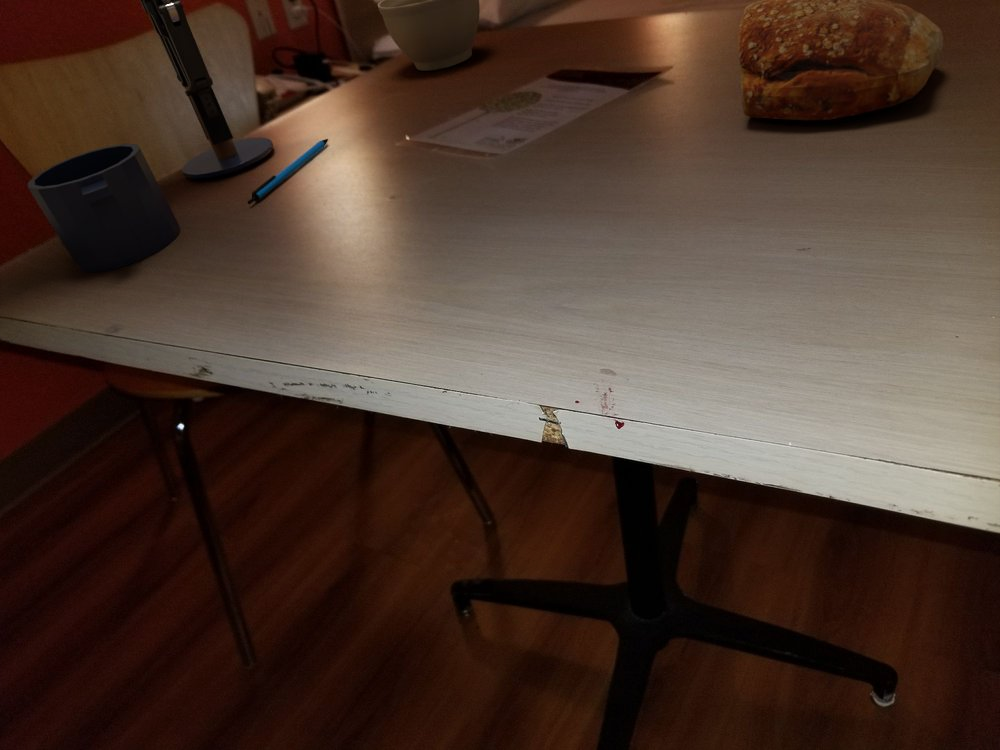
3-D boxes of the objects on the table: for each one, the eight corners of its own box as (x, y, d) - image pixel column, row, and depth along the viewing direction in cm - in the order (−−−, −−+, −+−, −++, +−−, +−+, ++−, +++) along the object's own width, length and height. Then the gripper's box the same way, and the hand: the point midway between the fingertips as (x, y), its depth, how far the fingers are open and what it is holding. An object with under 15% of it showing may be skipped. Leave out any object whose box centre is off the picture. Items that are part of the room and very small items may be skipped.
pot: (83, 292, 73) (29, 205, 68) (72, 243, 86) (26, 167, 80) (193, 248, 77) (150, 162, 71) (167, 207, 90) (128, 132, 84)
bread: (765, 66, 86) (766, -27, 80) (943, 56, 77) (959, -51, 71) (716, 133, 73) (713, 27, 67) (924, 129, 64) (942, 7, 58)
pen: (247, 206, 84) (243, 197, 83) (326, 142, 97) (323, 134, 97) (253, 206, 83) (249, 197, 83) (332, 142, 97) (329, 133, 96)
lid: (195, 191, 93) (155, 107, 86) (178, 170, 102) (141, 92, 96) (286, 156, 96) (254, 73, 90) (261, 139, 106) (231, 63, 100)
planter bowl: (394, 64, 127) (376, -3, 121) (483, 41, 127) (469, -28, 121) (399, 86, 114) (378, 12, 108) (498, 60, 114) (483, -16, 108)
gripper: (177, -72, 79) (262, 140, 92) (154, -68, 91) (233, 119, 104) (107, -54, 76) (205, 160, 90) (93, -52, 88) (182, 137, 102)
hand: (219, 138), depth 97 cm, fingers closed on lid, 3 cm apart
